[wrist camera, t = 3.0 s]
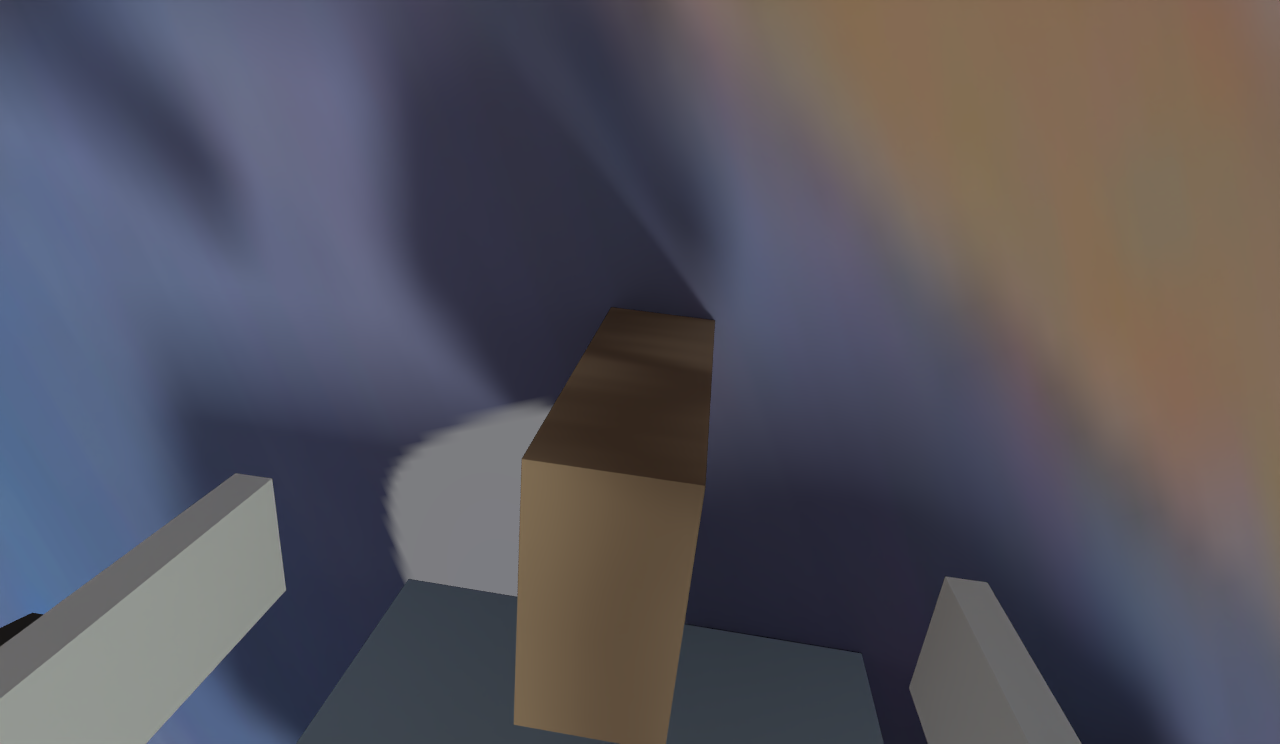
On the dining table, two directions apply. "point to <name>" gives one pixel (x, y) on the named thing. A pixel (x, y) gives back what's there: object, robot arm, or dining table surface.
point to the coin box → (488, 739)
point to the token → (613, 531)
